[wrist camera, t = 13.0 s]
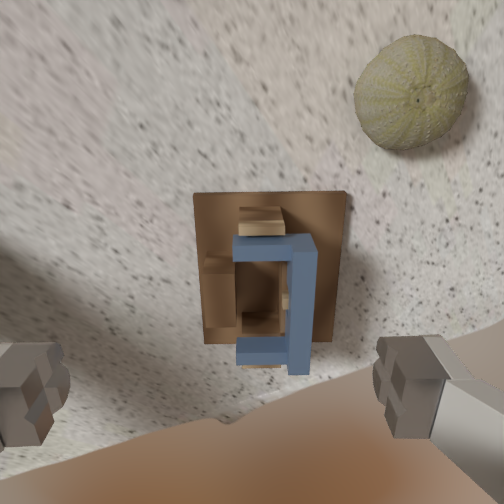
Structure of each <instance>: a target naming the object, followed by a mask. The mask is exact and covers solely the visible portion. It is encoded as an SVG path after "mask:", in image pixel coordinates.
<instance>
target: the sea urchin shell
mask: <svg viewBox="0 0 504 504" xmlns="http://www.w3.org/2000/svg"><path fill="white" fill-rule="evenodd" d="M465 64H466V63H464V62H463V61H462V59H461V58H460V57H459V56H458V55H457V53H456V51H455V50H454V49H452V48H450V47H448V46H447V45H445V44H444V43H442V42H441V41H439V40H438V39H436V38H431V37H427V36H422V35H415V34H414V35H410V36H406V37H405V36H404V37H402V38H400V39H398V40H396V41H395V42H393V43H392V44H390V45H389V46H387V47H385V48H384V49H383V50H382V51H381V52H380V53H379V54H378V55H377V56H376V57H375V58H374V59H373V60H372V61H371V62H370V63H369V64H367V67H366V68H365V70H364V71H363V73H362V75H361V76H360V78H359V79H358V81H357V84H356V87H355V92H354V101H355V109H356V112H355V113H356V114H357V117H358V119H359V121H360V123H361V127H362V130H363V131H364V132H365V133H366V135H367V136H368V137H369V138H370V139H371V140H372V141H373V142H374V143H375V144H376V145H378V146H380V147H383V148H384V149H399V150H405V149H409V148H413V147H419V146H422V145H425V144H427V143H429V142H431V141H433V140H435V139H437V138H439V137H442V136H443V135H444V134H445V133H446V132H447V131H448V130H450V129H451V127H452V125H453V124H454V123H455V121H456V119H457V118H458V117H459V116H460V115H461V111H462V108H463V104H464V101H465V99H466V95H467V93H468V92H467V86H468V77H469V74H468V71H467V68H466V65H465Z"/></svg>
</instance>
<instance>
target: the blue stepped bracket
mask: <svg viewBox="0 0 504 504" xmlns="http://www.w3.org/2000/svg"><path fill="white" fill-rule="evenodd" d="M232 250H233V262H244V261H287V286H288V291H289V302H288V309H286V317H285V336H283V337H237V340H236V365H284V364H287V369H288V375H309V371H310V357H311V343H312V328H313V314H314V300H315V286H316V272H317V258H318V251H317V249H316V246H315V244H314V241H313V239H312V236H311V234H310V233H303V234H285V235H258V236H239V234H236V235H233V244H232Z"/></svg>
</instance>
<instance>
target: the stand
mask: <svg viewBox="0 0 504 504" xmlns="http://www.w3.org/2000/svg"><path fill="white" fill-rule="evenodd" d="M346 195H347V193H346V192H345V191H288V192H214V193H194V194H193V204H194V216H195V229H196V242H197V255H198V268H199V281H200V294H201V306H202V319H203V332H204V344H236V340H237V337H283V336H285V317H286V309H288V302H289V291H288V286H287V261H244V262H233V250H232V244H233V235H236V234H239V236H258V235H285V234H303V233H310V234H311V236H312V239H313V241H314V244H315V246H316V249H317V251H318V258H317V272H316V286H315V300H314V314H313V328H312V342H332V336H333V326H334V316H335V306H336V296H337V286H338V276H339V266H340V255H341V245H342V235H343V225H344V215H345V205H346ZM242 368H281V365H242Z"/></svg>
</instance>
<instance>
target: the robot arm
mask: <svg viewBox="0 0 504 504" xmlns="http://www.w3.org/2000/svg"><path fill="white" fill-rule="evenodd" d="M376 351H377V353H378V355H379V357H380V358H379V359H378V360H377V361H376V362H375V363H374V365H373V385H374V390H375V393H376V396H377V398H378V401H379V402H381V403H382V404H383V405H384V406H386V408H385V414H384V416H385V418H386V421H387V423H388V426H389V428H390V430H391V433H392V435H393V438H408V439H409V438H410V439H412V438H413V439H418V438H419V439H430V441H431V442H432V443H433V444H434V445H435V446H436V447H437V448H438V449H440V450H441V451H442V452H443V453H444V454H445V455H446V456H447V457H448V458H449V459H450V460H451V461H453V462H454V463H455V464H456V465H457V466H458V467H459V468H460V469H461V470H462V471H463V472H464V473H466V474H467V475H468V476H469V477H470V478H471V479H472V480H473V481H474V482H475V483H476V484H478V485H479V486H480V487H481V488H482V489H483V490H484V491H485V492H486V493H487V494H488V495H490V496H491V497H492V498H493V499H494V500H495V501H496V502H497V503H498V504H504V392H503V391H502V390H500V389H498V388H497V387H495V386H493V385H491V384H489V383H487V382H486V381H484V380H482V379H475V378H474V377H473V375H472V374H471V373H470V372H469V370H468V369H467V368H466V366H464V364H463V362H462V361H461V360H460V358H459V357H458V356H457V355H456V353H455V352H454V351H453V349H452V348H451V347H450V345H449V344H448V343H447V341H446V340H445V339H444V338H443V337H442V336H441V335H439V334H435V335H419V336H391V337H379V339H378V341H377V346H376ZM63 356H64V353H63V350H62V347H61V345H60V344H58V343H56V342H17V343H15V342H0V453H1V452H2V451H3V450H4V447H22V446H41V445H42V443H43V441H44V440H45V438H46V436H47V434H48V432H49V431H50V429H51V427H52V425H53V423H54V419H53V416H52V414H54V413H55V412H56V411H58V410H59V409H60V408H62V407H63V405H64V403H65V401H66V399H67V398H68V393H69V389H70V375H69V371H68V369H67V368H66V367H65V366H64V365H63V364H62V363H60V361H61V360H62V358H63Z"/></svg>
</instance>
